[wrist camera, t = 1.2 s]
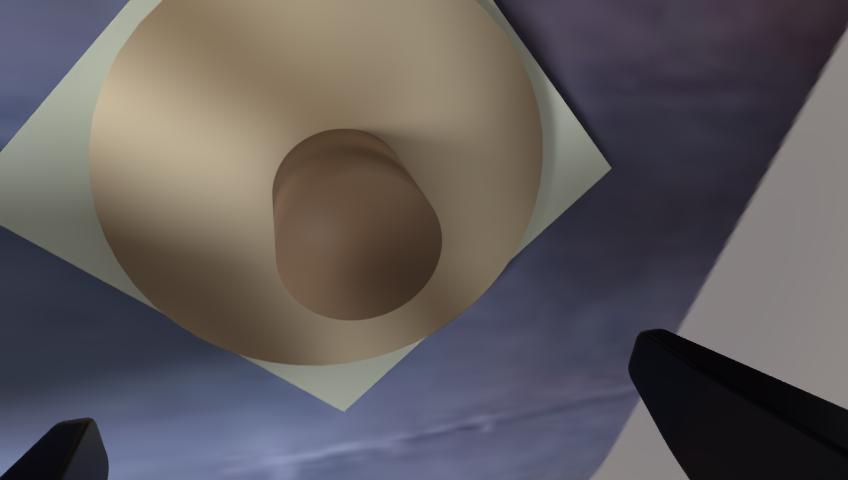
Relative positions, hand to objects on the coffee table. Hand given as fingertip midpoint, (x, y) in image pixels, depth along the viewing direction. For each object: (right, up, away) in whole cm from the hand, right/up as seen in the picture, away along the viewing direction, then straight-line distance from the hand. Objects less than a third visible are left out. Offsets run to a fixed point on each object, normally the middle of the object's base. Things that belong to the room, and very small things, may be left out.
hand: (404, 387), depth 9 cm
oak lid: (-2, +4, +8) cm, 9 cm away
